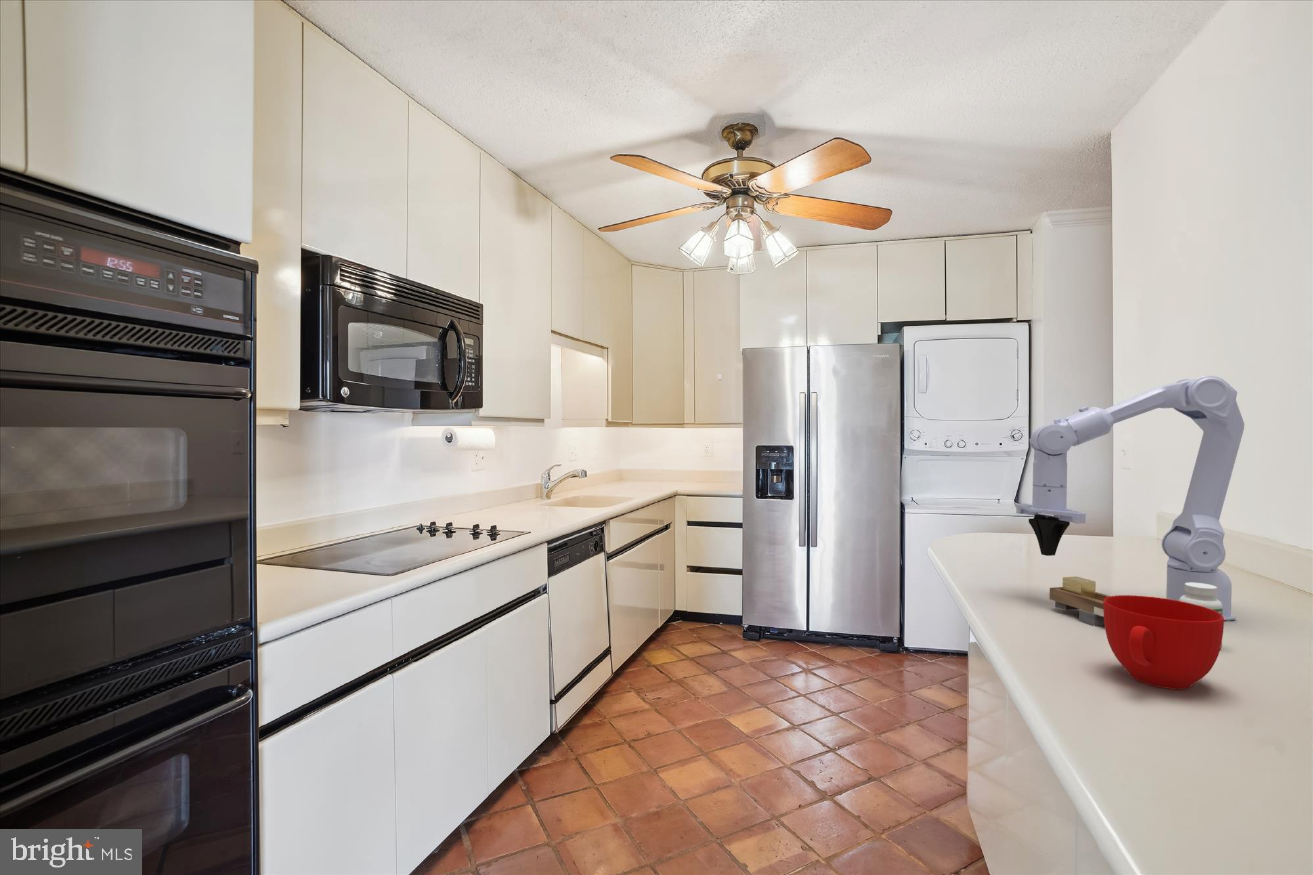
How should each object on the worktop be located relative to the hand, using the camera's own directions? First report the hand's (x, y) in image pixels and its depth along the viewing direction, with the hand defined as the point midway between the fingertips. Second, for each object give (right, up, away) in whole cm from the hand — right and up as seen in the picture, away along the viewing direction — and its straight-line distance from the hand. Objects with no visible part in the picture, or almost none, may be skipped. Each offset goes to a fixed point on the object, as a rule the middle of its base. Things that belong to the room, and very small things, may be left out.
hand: (1048, 555), depth 125 cm
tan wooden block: (+2, -7, -7) cm, 9 cm away
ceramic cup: (-10, -10, -39) cm, 41 cm away
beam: (+3, -10, -12) cm, 15 cm away
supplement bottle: (+10, -10, -23) cm, 27 cm away
